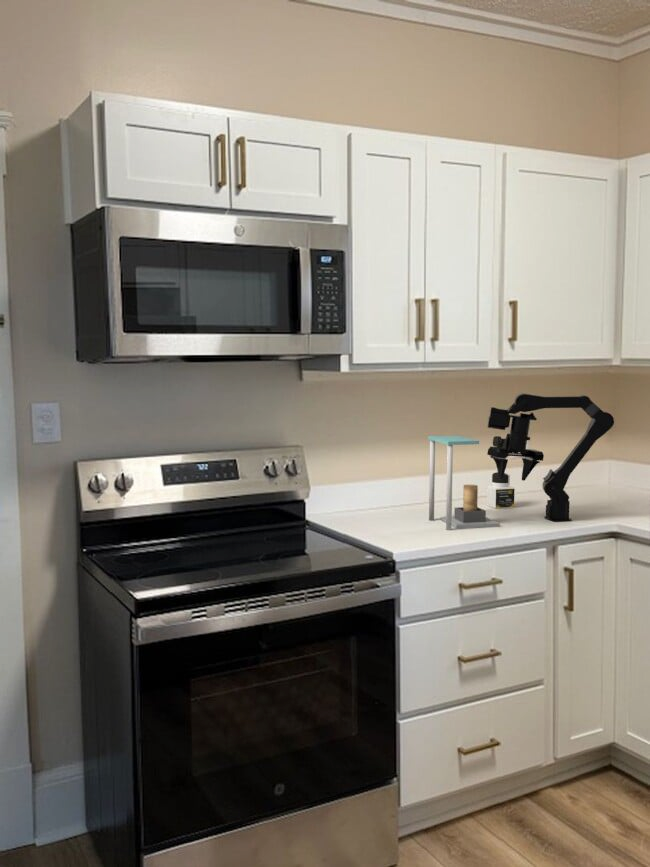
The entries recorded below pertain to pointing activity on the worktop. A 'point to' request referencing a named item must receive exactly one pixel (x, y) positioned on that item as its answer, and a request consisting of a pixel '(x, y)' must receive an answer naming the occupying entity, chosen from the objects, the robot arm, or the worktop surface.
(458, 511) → the awning socket
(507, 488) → the medicine bottle
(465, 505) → the tan domed cylinder
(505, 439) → the robot arm
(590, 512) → the worktop surface
